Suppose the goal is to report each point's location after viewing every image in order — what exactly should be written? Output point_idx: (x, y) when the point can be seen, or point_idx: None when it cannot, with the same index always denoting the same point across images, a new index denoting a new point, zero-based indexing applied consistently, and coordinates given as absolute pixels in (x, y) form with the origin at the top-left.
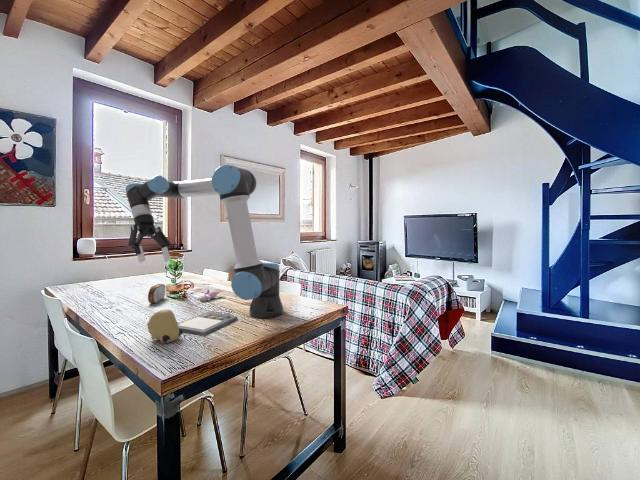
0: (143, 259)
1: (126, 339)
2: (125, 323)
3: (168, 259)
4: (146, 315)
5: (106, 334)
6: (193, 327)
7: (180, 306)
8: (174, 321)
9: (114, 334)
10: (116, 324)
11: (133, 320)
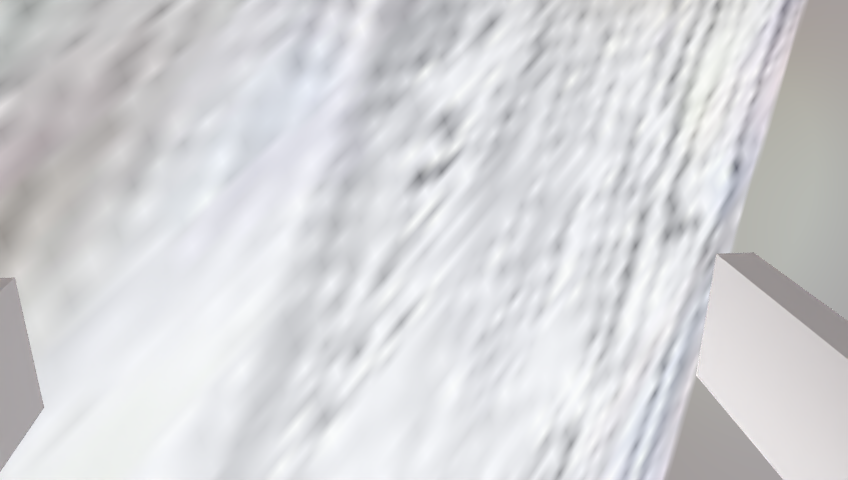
0: (764, 270)
1: (725, 93)
2: (543, 362)
3: (11, 318)
4: (348, 389)
5: None
6: None
7: None
8: None
9: (702, 232)
10: (580, 401)
11: (475, 370)
